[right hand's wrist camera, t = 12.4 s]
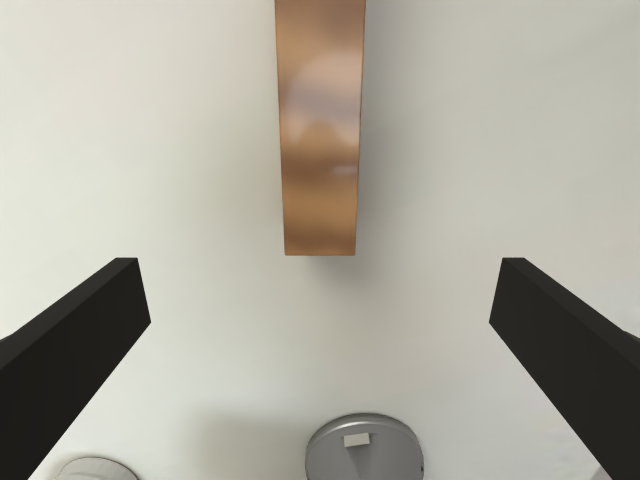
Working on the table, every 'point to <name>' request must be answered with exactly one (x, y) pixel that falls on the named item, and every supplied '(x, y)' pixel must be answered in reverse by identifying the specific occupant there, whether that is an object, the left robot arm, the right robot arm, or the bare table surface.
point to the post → (320, 122)
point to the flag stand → (94, 470)
